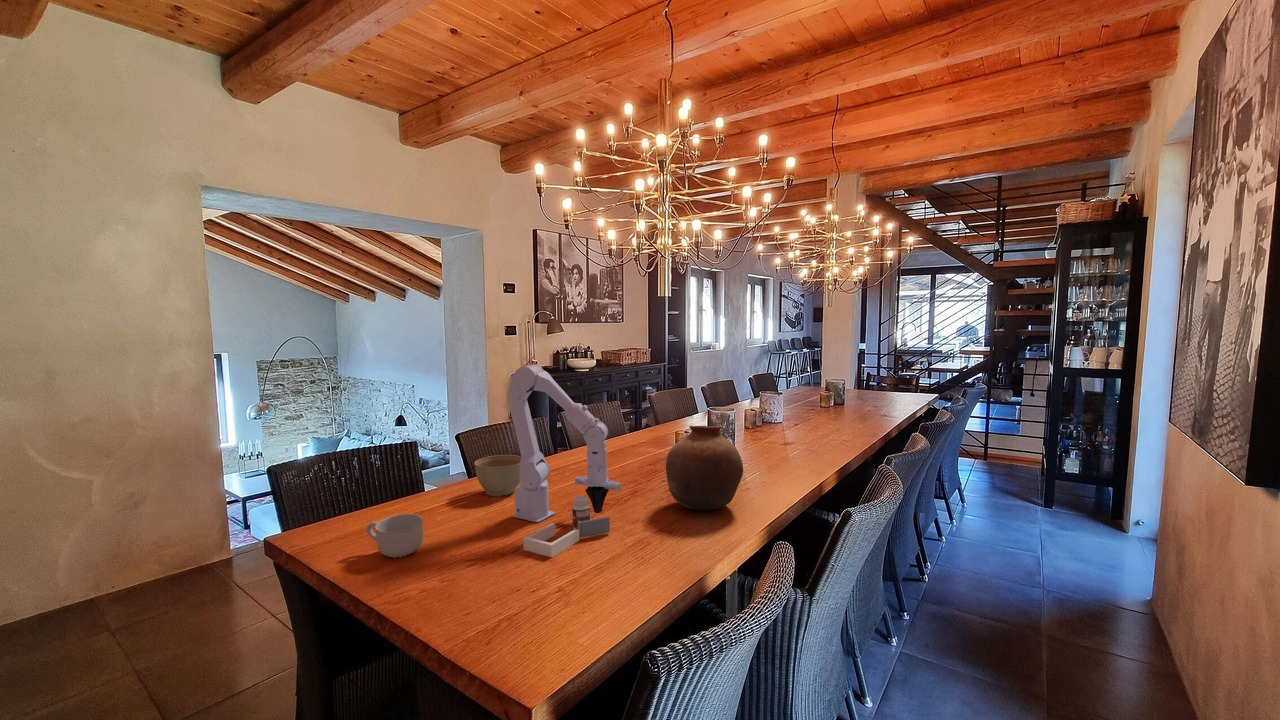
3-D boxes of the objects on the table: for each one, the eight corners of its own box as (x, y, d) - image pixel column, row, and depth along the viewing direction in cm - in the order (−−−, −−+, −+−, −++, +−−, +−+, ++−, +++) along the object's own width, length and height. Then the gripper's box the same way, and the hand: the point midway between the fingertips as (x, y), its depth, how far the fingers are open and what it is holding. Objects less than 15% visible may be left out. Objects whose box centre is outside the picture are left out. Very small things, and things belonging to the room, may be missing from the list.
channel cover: (578, 539, 136) (578, 522, 136) (577, 537, 137) (577, 521, 137) (609, 532, 140) (609, 516, 140) (608, 531, 141) (608, 515, 140)
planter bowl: (519, 500, 168) (518, 466, 167) (468, 501, 168) (467, 467, 167) (530, 484, 184) (529, 454, 183) (484, 485, 184) (483, 454, 183)
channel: (523, 549, 131) (523, 538, 131) (552, 534, 140) (551, 523, 140) (551, 557, 126) (551, 545, 126) (579, 540, 136) (579, 529, 136)
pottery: (689, 526, 144) (688, 436, 143) (653, 500, 165) (652, 422, 164) (758, 513, 153) (758, 428, 152) (716, 490, 175) (715, 415, 173)
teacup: (433, 546, 134) (432, 515, 133) (401, 565, 124) (399, 532, 123) (390, 540, 138) (388, 510, 138) (355, 557, 128) (354, 525, 128)
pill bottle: (573, 525, 146) (572, 495, 146) (590, 524, 147) (589, 495, 146) (572, 532, 142) (571, 501, 141) (590, 531, 142) (589, 500, 141)
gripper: (568, 465, 150) (569, 512, 151) (610, 472, 143) (611, 520, 144) (582, 459, 156) (583, 504, 157) (624, 465, 149) (625, 512, 150)
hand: (598, 511), depth 151 cm, fingers closed
